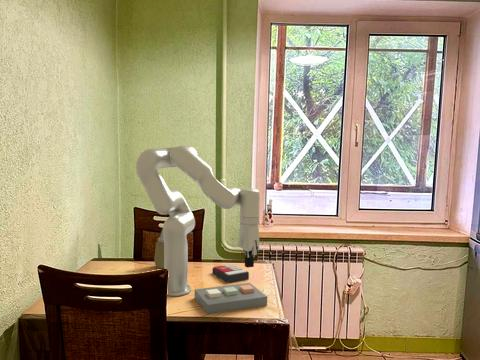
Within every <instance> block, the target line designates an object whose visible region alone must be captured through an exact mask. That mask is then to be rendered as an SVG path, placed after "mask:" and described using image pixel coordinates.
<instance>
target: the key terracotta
mask: <svg viewBox="0 0 480 360" xmlns="http://www.w3.org/2000/svg"><path fill="white" fill-rule="evenodd" d="M239 290H240V291H241V292H242V293H243V294H246V293H254V288H253V287H252V286H251V285H243V286H240V288H239Z"/></svg>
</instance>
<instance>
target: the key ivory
mask: <svg viewBox="0 0 480 360" xmlns="http://www.w3.org/2000/svg"><path fill="white" fill-rule="evenodd" d="M206 295H207V296H208V297H209V298H216V297H221V292H220V291H219V290H218V289H211V290H206Z"/></svg>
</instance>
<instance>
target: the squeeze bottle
mask: <svg viewBox="0 0 480 360" xmlns="http://www.w3.org/2000/svg"><path fill="white" fill-rule="evenodd" d="M153 261H154V264H155V268H157V269H159V270H160V269H161V270H162V268H164V237H163V230H161V231H160V236H159V237H158V238H157V242H156V243H155V250H154V258H153Z"/></svg>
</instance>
